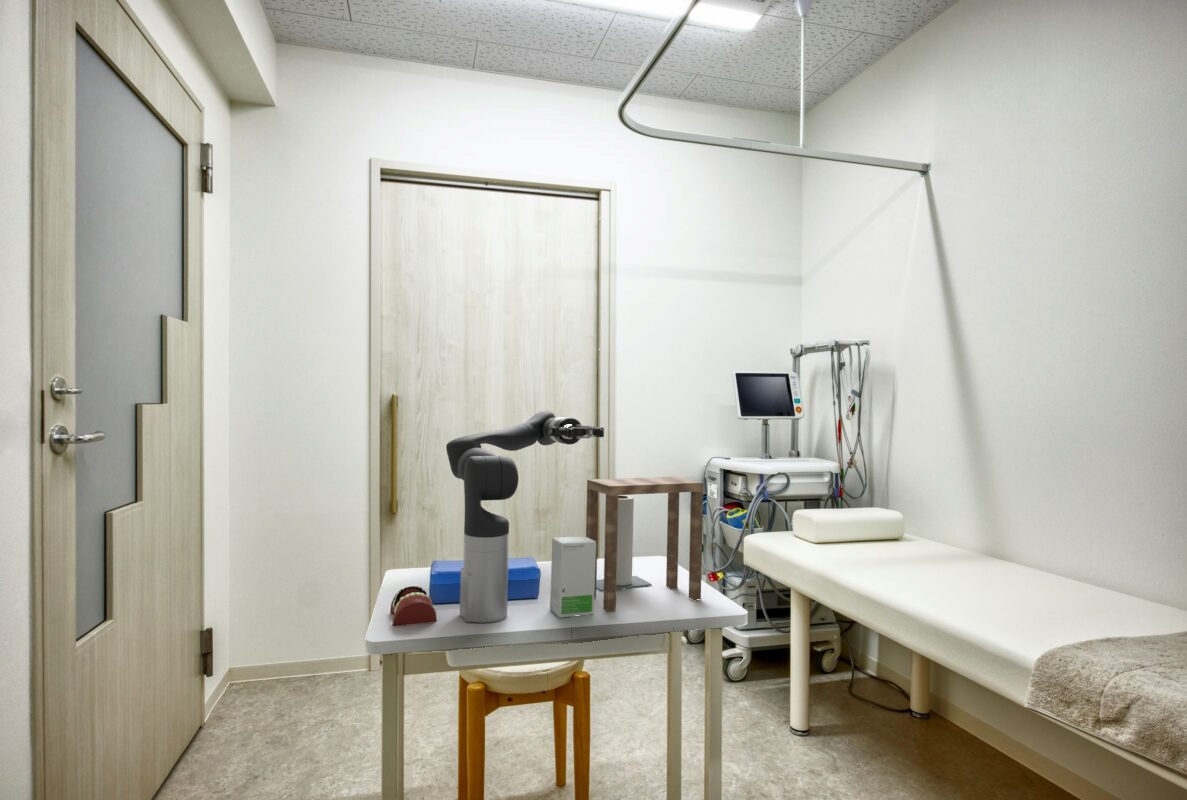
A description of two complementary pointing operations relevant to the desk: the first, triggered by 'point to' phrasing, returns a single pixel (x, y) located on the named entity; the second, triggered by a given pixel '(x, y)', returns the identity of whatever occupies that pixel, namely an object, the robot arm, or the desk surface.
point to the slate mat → (635, 583)
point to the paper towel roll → (624, 540)
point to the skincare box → (572, 576)
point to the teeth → (412, 607)
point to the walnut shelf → (696, 515)
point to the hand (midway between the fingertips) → (586, 433)
